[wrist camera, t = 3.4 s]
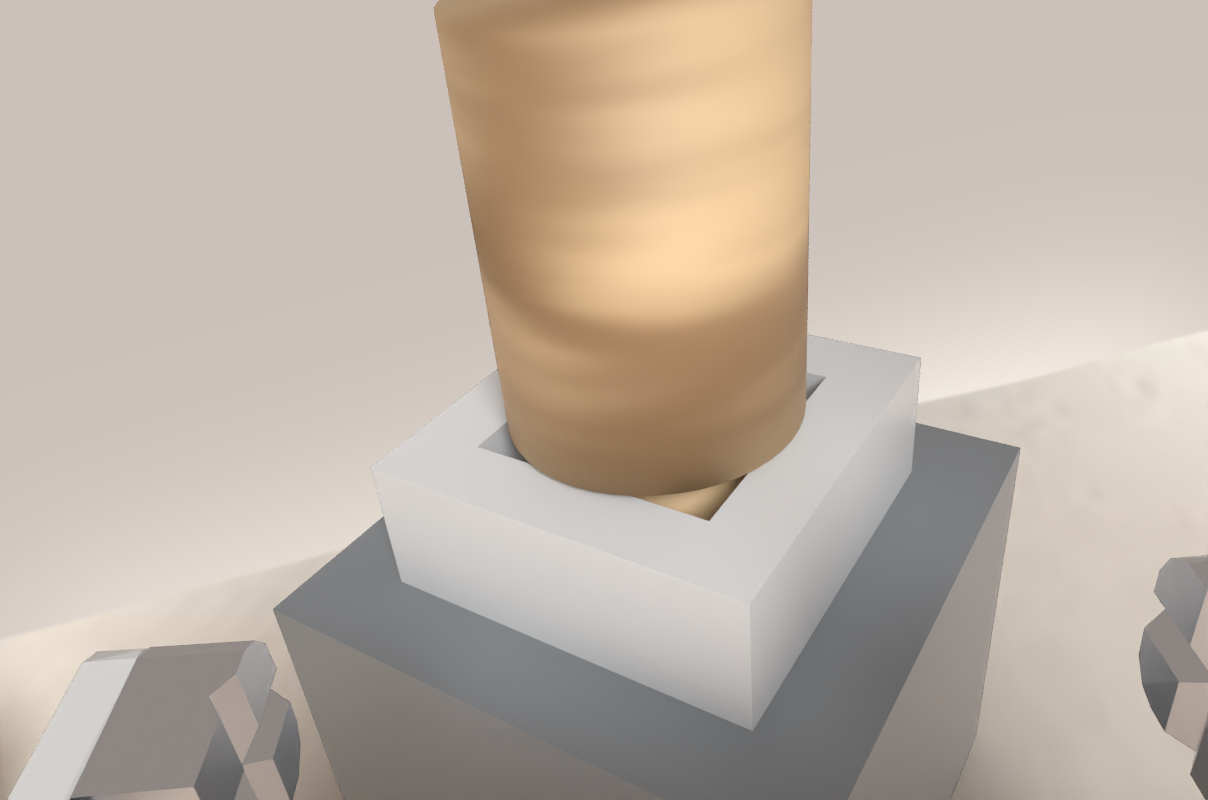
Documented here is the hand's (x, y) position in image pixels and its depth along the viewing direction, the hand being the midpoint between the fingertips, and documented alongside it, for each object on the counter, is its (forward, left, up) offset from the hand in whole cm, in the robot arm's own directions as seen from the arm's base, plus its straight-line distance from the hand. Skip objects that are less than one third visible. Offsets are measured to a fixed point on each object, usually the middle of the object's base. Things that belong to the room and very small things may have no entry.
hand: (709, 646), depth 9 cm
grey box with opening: (+6, -9, -17) cm, 20 cm away
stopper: (+6, -9, -7) cm, 13 cm away
